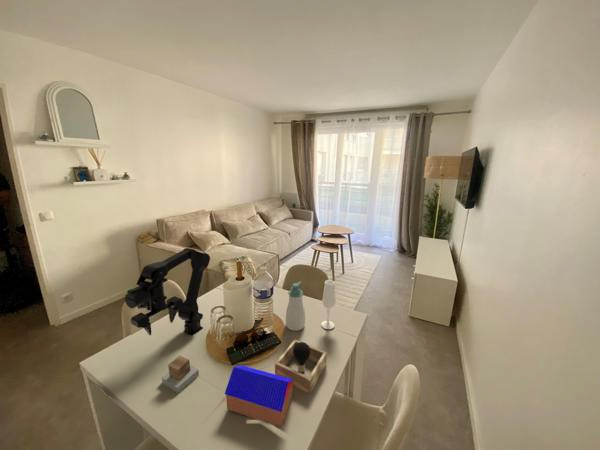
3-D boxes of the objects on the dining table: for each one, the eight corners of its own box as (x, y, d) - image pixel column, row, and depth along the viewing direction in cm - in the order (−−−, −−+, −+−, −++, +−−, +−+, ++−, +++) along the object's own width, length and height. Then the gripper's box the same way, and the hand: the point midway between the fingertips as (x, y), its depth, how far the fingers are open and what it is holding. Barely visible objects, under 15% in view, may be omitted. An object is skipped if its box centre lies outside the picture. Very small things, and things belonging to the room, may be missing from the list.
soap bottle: (308, 324, 123) (309, 284, 118) (296, 334, 116) (296, 291, 111) (294, 317, 129) (295, 278, 124) (281, 325, 122) (281, 284, 117)
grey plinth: (184, 366, 97) (183, 360, 97) (199, 376, 93) (198, 369, 92) (162, 383, 90) (161, 377, 89) (177, 394, 85) (176, 387, 85)
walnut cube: (180, 366, 94) (179, 355, 93) (190, 370, 92) (189, 359, 91) (169, 376, 89) (168, 365, 88) (179, 380, 88) (178, 369, 86)
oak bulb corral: (294, 351, 106) (294, 339, 104) (326, 364, 99) (326, 352, 97) (275, 376, 93) (274, 363, 91) (309, 394, 86) (310, 380, 84)
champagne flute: (330, 331, 119) (332, 286, 113) (318, 325, 123) (320, 282, 117) (336, 324, 124) (339, 281, 118) (325, 319, 128) (327, 277, 122)
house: (243, 380, 91) (242, 354, 89) (293, 394, 86) (294, 367, 83) (225, 409, 80) (223, 381, 77) (281, 428, 75) (281, 398, 72)
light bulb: (309, 363, 99) (309, 338, 96) (310, 377, 93) (311, 351, 90) (292, 363, 99) (293, 338, 96) (293, 377, 92) (293, 351, 89)
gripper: (166, 281, 109) (170, 311, 113) (120, 300, 93) (126, 335, 97) (181, 287, 104) (185, 318, 108) (136, 308, 88) (142, 345, 92)
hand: (161, 328), depth 101 cm, fingers open, 9 cm apart
